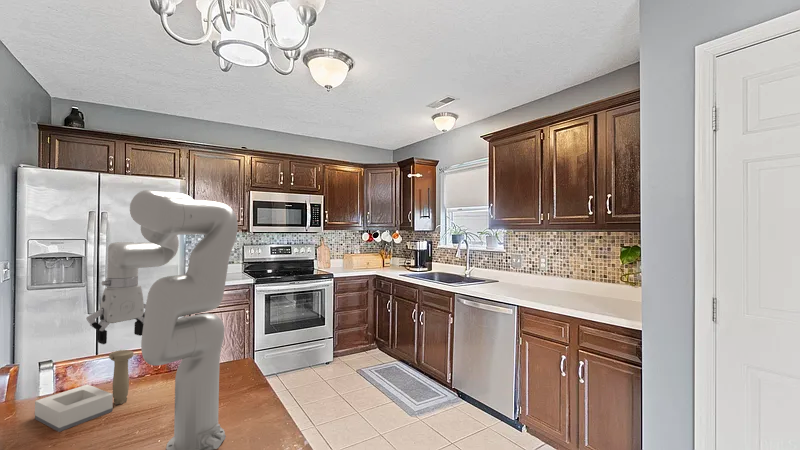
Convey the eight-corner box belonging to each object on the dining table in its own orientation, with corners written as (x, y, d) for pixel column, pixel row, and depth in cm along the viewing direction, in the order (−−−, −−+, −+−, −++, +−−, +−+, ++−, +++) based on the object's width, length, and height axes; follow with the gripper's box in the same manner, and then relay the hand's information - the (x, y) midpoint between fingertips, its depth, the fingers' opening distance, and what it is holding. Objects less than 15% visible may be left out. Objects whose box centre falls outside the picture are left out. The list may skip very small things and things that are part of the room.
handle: (120, 407, 107) (121, 356, 107) (104, 404, 109) (105, 354, 109) (136, 400, 112) (137, 351, 112) (119, 397, 113) (120, 349, 114)
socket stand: (112, 411, 105) (112, 394, 105) (59, 431, 94) (59, 412, 94) (87, 400, 111) (87, 384, 111) (34, 418, 100) (35, 400, 100)
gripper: (95, 288, 101) (93, 349, 101) (159, 280, 117) (157, 333, 117) (81, 285, 105) (79, 344, 105) (145, 278, 120) (144, 330, 120)
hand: (121, 338), depth 111 cm, fingers open, 9 cm apart
